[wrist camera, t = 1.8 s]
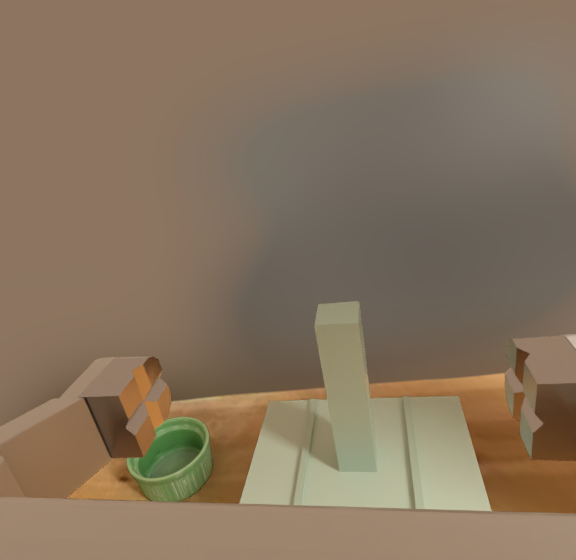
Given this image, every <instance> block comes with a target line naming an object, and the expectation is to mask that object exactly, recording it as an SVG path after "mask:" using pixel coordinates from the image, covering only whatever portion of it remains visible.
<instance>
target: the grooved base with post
mask: <svg viewBox="0 0 576 560" xmlns="http://www.w3.org/2000/svg"><path fill="white" fill-rule="evenodd" d="M314 326H315V332H316V338H317V344H318V349H319V355H320V361H321V367H322V373H323V378H324V384H325V390H326V396H327V399H325V400H317V399H311V400H289V401H269V403H268V407H267V410H266V414H265V417H264V421H263V424H262V427H261V431H260V434H259V438H258V441H257V445H256V448H255V451H254V455H253V458H252V462H251V465H250V469H249V472H248V475H247V479H246V482H245V486H244V489H243V493H242V496H241V499H240V503H239V504H274V505H310V506H344V507H376V508H409V509H441V510H473V511H491V507H490V504H489V500H488V497H487V493H486V490H485V486H484V483H483V479H482V476H481V472H480V469H479V465H478V462H477V458H476V455H475V451H474V448H473V444H472V441H471V437H470V434H469V430H468V427H467V423H466V420H465V416H464V413H463V409H462V406H461V402H460V399H459V396H431V397H410V396H403V397H396V398H371V397H370V389H369V380H368V373H367V364H366V356H365V347H364V339H363V331H362V322H361V314H360V306H359V301H355V302H342V303H329V304H319V305H318V310H317V315H316V320H315V325H314Z"/></svg>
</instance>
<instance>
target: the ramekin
mask: <svg viewBox="0 0 576 560" xmlns="http://www.w3.org/2000/svg"><path fill="white" fill-rule="evenodd" d="M155 433H156V437H155V439H154V441H153V443H152V444H151V446H150V448H149V449H148V451H147V453H146V455H145V456H144V457H140V458H127V461H126V462H127V468H128V471H129V472H130V474H131V475H132V477H133V478H134V479H136V481H137V483H138V484H139V486H140V488H141V490H142V492H143V493H144V495H145V496H146V497H147V498H148V499H149V500H151V501H168V502H179V501H182V500H184V499H186V498H188V497H190V496H192V495H193V494H194V493H196V492H197V491H198V490H199V489H200V488H201V487H202V486H203V485H204V484H205V483H206V481H207V480H208V478H209V476H210V474H211V471H212V467H213V458H212V453H211V448H210V443H209V442H210V437H209V431H208V429H207V427H206V425H205V424H204V423H203V422H202V421H200V420H198V419H196V418H192V417H176V418H171V419H167V420H165V422H164V423H162V424H161V425H160V426H158V427H157V428H155Z"/></svg>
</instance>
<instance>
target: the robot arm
mask: <svg viewBox="0 0 576 560" xmlns="http://www.w3.org/2000/svg"><path fill="white" fill-rule="evenodd" d="M506 357H507V359H508V361H509V364H510V366H511V367H510V368H509V369H508V371H507V372H506V373H505V392H506V399H507V403H508V406H509V410H510V412H511V414H512V417H513V418H514V419H516V420H517V421H519V422H520V436H521V438H522V440H523V442H524V445H525V447H526V449H527V452H528V454H529V456H530V458H531V460H558V461H576V334H570V335H561V336H548V337H535V338H534V337H533V338H518V339H508V342H507V345H506ZM161 373H162V368H161V365H160V363H159V360H158V359H157V358H155V357H154V356H139V357H118V358H117V357H108V358H100V359H96V360H95V361H94V362H93V363H92V364H91V365H90V366H89V367H88V368H87V369H86V370H85V371H84V373H82V375H81V376H80V377H79V378H78V379H77V380H76V381H75V382H74V383H73V384H72V385H71V386H70V387H69V388H68V389H67V390H66V391H65V392H64V393H63V394H62V396H61V397H60V398H54V399H52V400H50V401H48V402H46V403H44V404H42V405H40V406H38V407H36V408H35V409H33V410H31V411H29V412H27V413H25V414H23V415H21V416H19V417H18V418H16V419H14V420H12V421H10V422H8V423H6V424H4V425H3V426H0V560H576V513H540V512H506V511H473V510H441V509H409V508H376V507H344V506H310V505H274V504H239V503H203V502H168V501H135V500H101V499H68V498H67V497H68V496H70V495H71V494H72V493H73V492H74V491H76V490H77V489H78V488H79V487H80V486H81V485H83V484H84V483H85V482H86V481H87V480H88V479H90V478H91V477H92V476H93V475H94V474H96V473H97V472H98V471H99V470H100V469H101V468H103V467H104V466H105V465H106V464H107V463H109V462H110V461H111V458H140V457H144V456H145V455H146V453H147V451H148V449H149V448H150V446H151V444H152V443H153V441H154V439H155V437H156V433H155V428H157V427H158V426H160V425H161V424H162V423H164V422H165V420H166V418H167V416H168V414H169V411H170V405H171V395H170V390H169V387H168V385H167V384H166V383H165V382H164V381H163V380H162V379H161V378H159V377H160V375H161Z"/></svg>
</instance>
